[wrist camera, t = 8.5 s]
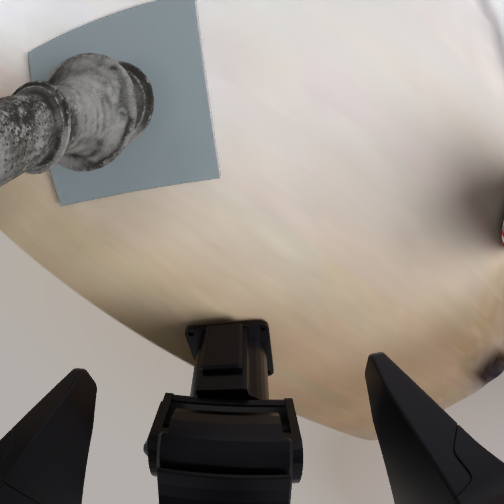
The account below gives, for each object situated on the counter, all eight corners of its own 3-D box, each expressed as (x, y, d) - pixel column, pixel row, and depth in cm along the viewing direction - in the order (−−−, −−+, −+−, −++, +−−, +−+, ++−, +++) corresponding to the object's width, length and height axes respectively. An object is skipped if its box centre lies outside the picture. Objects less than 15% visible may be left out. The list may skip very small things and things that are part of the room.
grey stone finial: (173, 131, 16) (46, 233, 5) (89, 168, 17) (-50, 285, 6) (140, 38, 13) (-27, 6, 2) (57, 85, 14) (-110, 134, 3)
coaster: (220, 175, 18) (219, 178, 17) (65, 203, 18) (60, 206, 18) (195, -5, 12) (193, -8, 12) (33, 52, 13) (28, 52, 12)
